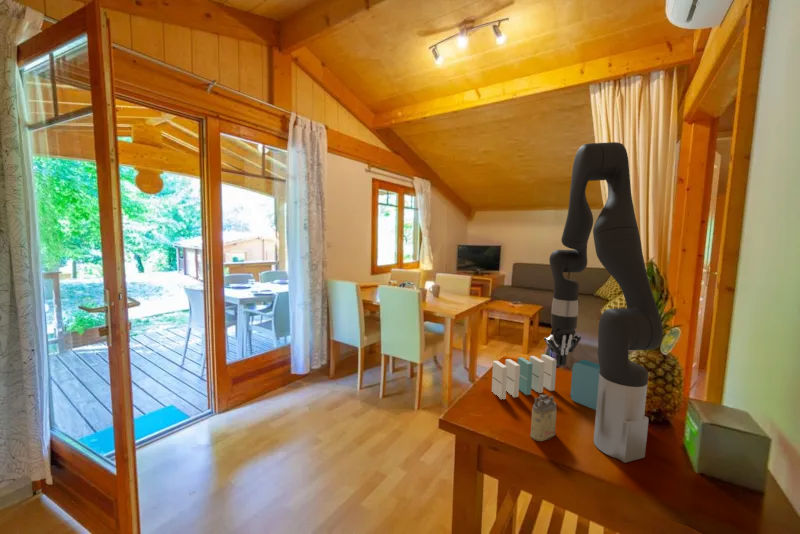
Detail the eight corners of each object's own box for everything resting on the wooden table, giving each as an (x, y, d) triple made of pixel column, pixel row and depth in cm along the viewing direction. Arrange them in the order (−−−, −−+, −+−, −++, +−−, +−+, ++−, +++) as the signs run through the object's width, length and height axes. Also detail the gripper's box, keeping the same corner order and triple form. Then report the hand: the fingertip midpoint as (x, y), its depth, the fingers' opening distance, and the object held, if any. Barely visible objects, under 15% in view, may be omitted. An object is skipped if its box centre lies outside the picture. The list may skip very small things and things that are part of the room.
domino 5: (543, 383, 111) (545, 354, 110) (554, 390, 107) (556, 360, 105) (539, 384, 111) (541, 354, 110) (550, 391, 106) (552, 360, 105)
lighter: (546, 427, 87) (548, 390, 86) (559, 435, 84) (562, 397, 83) (527, 435, 84) (529, 397, 82) (540, 444, 80) (542, 404, 79)
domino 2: (508, 389, 107) (510, 358, 106) (518, 396, 103) (520, 365, 101) (503, 389, 107) (505, 359, 106) (513, 397, 102) (515, 365, 101)
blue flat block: (620, 412, 94) (624, 371, 93) (614, 418, 92) (618, 375, 90) (576, 395, 104) (579, 358, 102) (569, 400, 101) (572, 361, 99)
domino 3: (526, 395, 103) (528, 364, 102) (516, 387, 108) (517, 357, 107) (530, 394, 104) (532, 363, 103) (520, 387, 109) (522, 357, 107)
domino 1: (496, 391, 106) (497, 360, 105) (505, 398, 101) (507, 366, 100) (491, 391, 105) (492, 361, 104) (501, 399, 101) (502, 367, 99)
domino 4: (532, 385, 110) (533, 355, 109) (542, 392, 105) (544, 361, 104) (527, 386, 110) (529, 356, 108) (538, 393, 105) (540, 362, 104)
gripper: (556, 317, 102) (552, 372, 104) (590, 314, 106) (586, 367, 108) (538, 311, 109) (535, 362, 111) (572, 308, 113) (568, 358, 115)
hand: (560, 364), depth 109 cm, fingers closed
